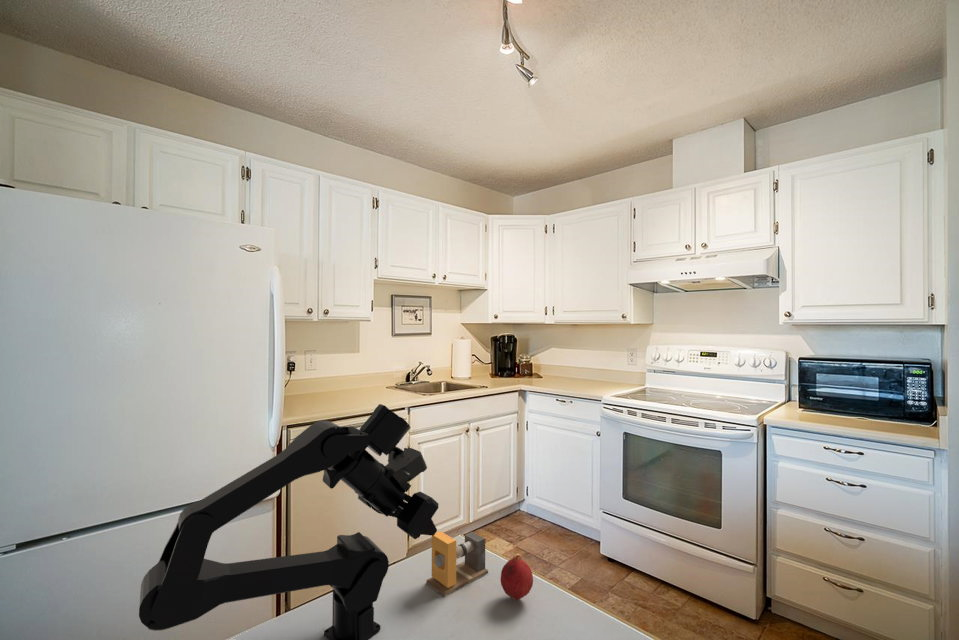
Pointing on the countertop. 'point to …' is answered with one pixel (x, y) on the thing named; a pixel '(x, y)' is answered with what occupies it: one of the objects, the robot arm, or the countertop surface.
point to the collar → (448, 549)
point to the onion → (516, 578)
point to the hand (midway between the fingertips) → (423, 525)
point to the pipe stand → (463, 564)
